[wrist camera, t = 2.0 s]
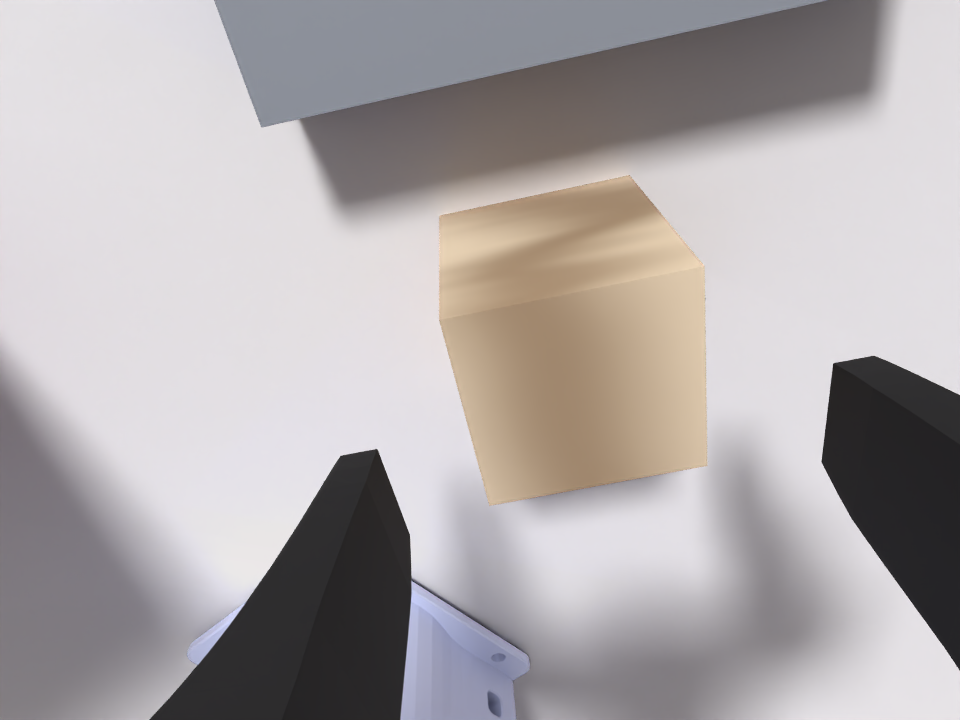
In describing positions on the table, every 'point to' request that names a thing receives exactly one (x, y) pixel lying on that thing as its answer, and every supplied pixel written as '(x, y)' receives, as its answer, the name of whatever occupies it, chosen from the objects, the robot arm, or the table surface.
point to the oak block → (574, 339)
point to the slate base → (434, 42)
